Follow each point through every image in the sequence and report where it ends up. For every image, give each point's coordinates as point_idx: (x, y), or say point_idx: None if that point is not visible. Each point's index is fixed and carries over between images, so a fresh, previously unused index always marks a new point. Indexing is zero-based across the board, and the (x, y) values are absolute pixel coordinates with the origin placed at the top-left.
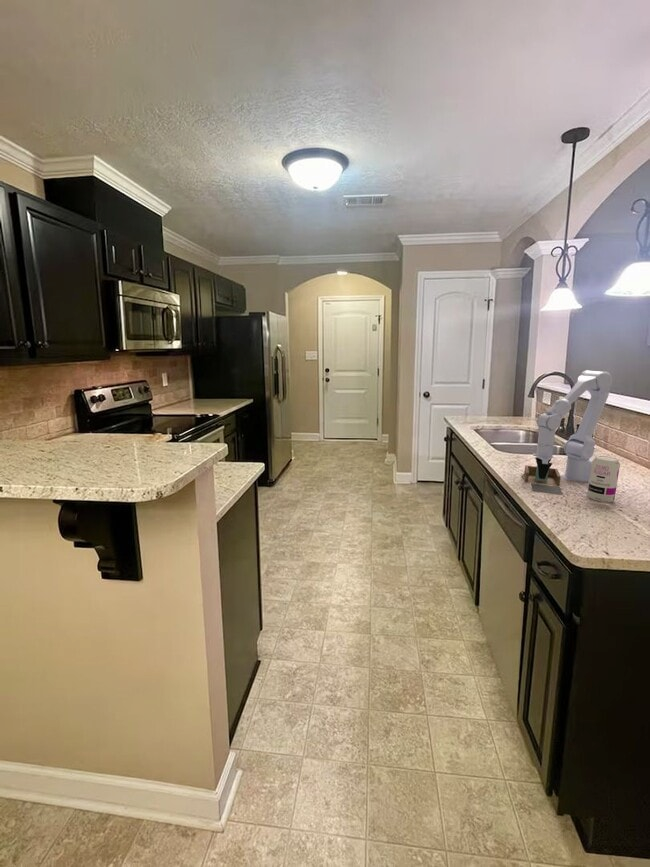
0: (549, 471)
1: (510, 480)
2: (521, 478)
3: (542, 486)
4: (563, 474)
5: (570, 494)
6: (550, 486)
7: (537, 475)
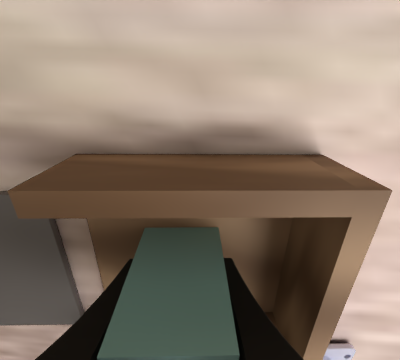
0: (292, 331)
1: (52, 17)
2: (183, 128)
3: (20, 255)
4: (341, 350)
5: (5, 343)
6: (58, 290)
7: (135, 262)
